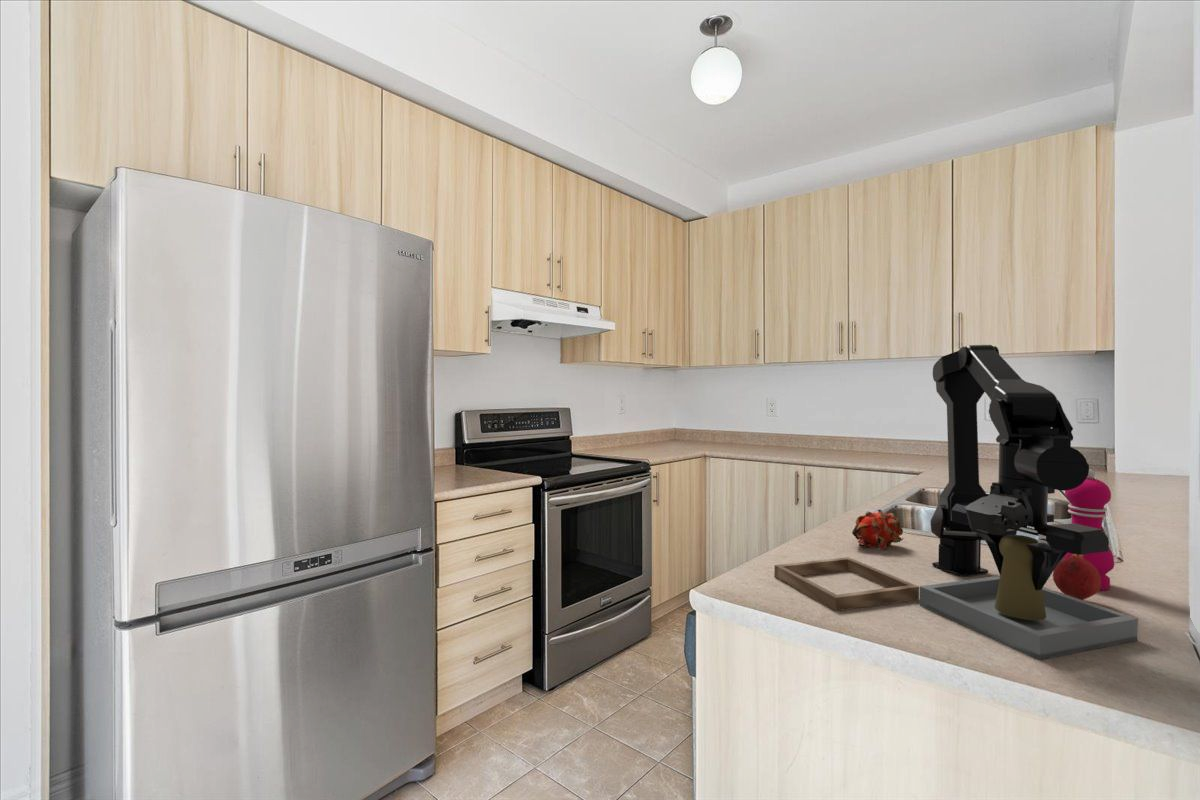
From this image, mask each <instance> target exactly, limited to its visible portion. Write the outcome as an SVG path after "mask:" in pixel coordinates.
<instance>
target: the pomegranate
mask: <svg viewBox="0 0 1200 800" xmlns="http://www.w3.org/2000/svg"><path fill="white" fill-rule="evenodd" d="M1083 555H1084V554H1083ZM1083 555H1078V554H1072V555H1071V556H1070V557H1068V558H1065V559H1063V560H1061V561H1060V562H1059V564H1058V565H1057V566H1056V568H1055V569H1054V571H1053V572H1052V578H1053V579H1052V580H1053V582H1054V585H1055V586H1056V587H1057V589H1059V590H1060V593H1063V594H1066V595H1069V596H1072V597H1075V598H1078V599H1081V600H1084V601H1085V600H1087V599H1088V598H1091V597H1094V596H1095V595H1096V594H1097V593H1098V592H1099V591H1101V590H1100V587H1101V577H1100V574H1099V572H1098V571H1097V569H1096V568H1095V567H1094V566H1093V565H1092V564H1091V563H1090V562H1088V561H1087V560H1085V559H1084V558H1083Z"/></svg>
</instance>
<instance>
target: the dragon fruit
mask: <svg viewBox="0 0 1200 800" xmlns="http://www.w3.org/2000/svg"><path fill="white" fill-rule="evenodd" d="M902 527H904V526H903V523H902V520H899V517H897V516H896V514H894V513H893V512H890V513H888V514H886V513H883V511H882V509H877V513H876V512H870V511H866V512H865V514H864V515H861V516H860V515H859V516H858V517H857V518H856V520H855V526H854V528H853V530H852V531H851V534H852V535H853V536H854V537H855V539H856V540H857V543H858V546H859V547H862V548H867V549H869V548H870V549H871V548H875V547H880V549H881V550H882V551H885V550H886V549H888V548H890V547H892V543H894V544H896V543H900V542H901V541H903V540H904V537H901V536H902V535H903V533H904V529H903V528H902Z"/></svg>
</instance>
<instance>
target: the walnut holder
mask: <svg viewBox="0 0 1200 800" xmlns="http://www.w3.org/2000/svg"><path fill="white" fill-rule="evenodd" d="M841 571H849V572H852V573H854V574H856V575H858V576H860V577H863V578H865V579H867V580H868V581H871V582H874V583H876V584H878V585H880V586H882V587H885V588H878V589H871V590H870V589H869V590H863V591H854V592H848V593H839V594H837V593H834V592H832V591H830V590H829V589H827V588H825V587H823V586H822V585H821V586H820V585H819V584H818V583H816V582H813V581H811V580H810V579H807V578H806V577H803V576H808V575H815V574H824V573H833V572H841ZM774 577H775V578H777V579H779V580H780V581H782V582H784V583H786V584H788V585H789V586H791V587H793V588H794V589H796V590H799V591H800V592H802V593H804V594H806V596H809V597H810V598H812V599H814V600H815V601H818V602H819V603H821V604H822V605H825V606H826V607H828V608H830V609H832V610H833V611H835V612H837V611H843V610H850V609H851V610H853V609H858V608H865V607H872V606H878V605H879V606H880V605H887V604H894V603H899V602H900V603H901V602H907V601H915V600H920V586H918V585H916V584H914V583H911V582H908V581H907V580H904V579H902V578H899V577H897V576H894V575H892V574H889V573H887V572H884V571H882V570H881V569H877V568H875V567H873V566H870V565H867V564H865V563H863V562H862V561H861V562H860V561H858V560H856V559H854V558H851V557H847V556H846V557H838V558H828V559H822V560H821V559H820V560H818V559H817V560H809V561H802V562H792V563H784V564H775V565H774Z"/></svg>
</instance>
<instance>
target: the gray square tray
mask: <svg viewBox="0 0 1200 800" xmlns="http://www.w3.org/2000/svg"><path fill="white" fill-rule="evenodd" d="M999 580H1000V575H993V576H988V577H980V578H979V577H977V578H970V579H965V580H957V581H950V582H941V583H934V584H927V585H920V586H919V606H920V607H923V608H924V609H927V610H929V611H931V612H934V613H936V614H938V615H940V616H942V617H945V618H947V619H949V620H951V621H954V622H956V623H957V624H960V625H963V626H965V627H967V628H969V629H971V630H973V631H975V632H977V633H979V634H982V635H984V636H987V637H989V638H990V639H993V640H995V641H997V642H1000V643H1002V644H1003V645H1004V644H1005V645H1006V646H1009V647H1010V648H1013V649H1015V650H1017V651H1019V652H1022V653H1023V654H1026V655H1028V656H1030V657H1033V658H1034V659H1037V660H1039V661H1041V660H1045V659H1050V658H1055V657H1061V656H1065V655H1072V654H1075V653H1082V652H1086V651H1092V650H1097V649H1101V648H1106V647H1111V646H1118V645H1121V644H1127V643H1133V642H1138V631H1139V618H1138V617H1134V616H1132V615H1128V614H1125V613H1123V612H1119V611H1116V610H1115V609H1114V610H1113V609H1109V608H1107V607H1104V606H1101V605H1098V604H1095V603H1092V602H1090V601H1087V600H1085V599H1084V600H1081V599H1078V598H1075V597H1072V596H1069V595H1066V594H1064V593H1062V592H1059V591H1056V590H1053V589H1051V588H1048V587H1044V586H1043V588H1042V591H1043V598H1044V605H1045V612H1046V618H1045V619H1044V620H1025V619H1020V618H1015V617H1011V616H1008V615H1005V614H1003V613H1001V612H999V611H997V610H996V609H995V608H994V607H995V602H996V596H997V591H998V585H999Z"/></svg>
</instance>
